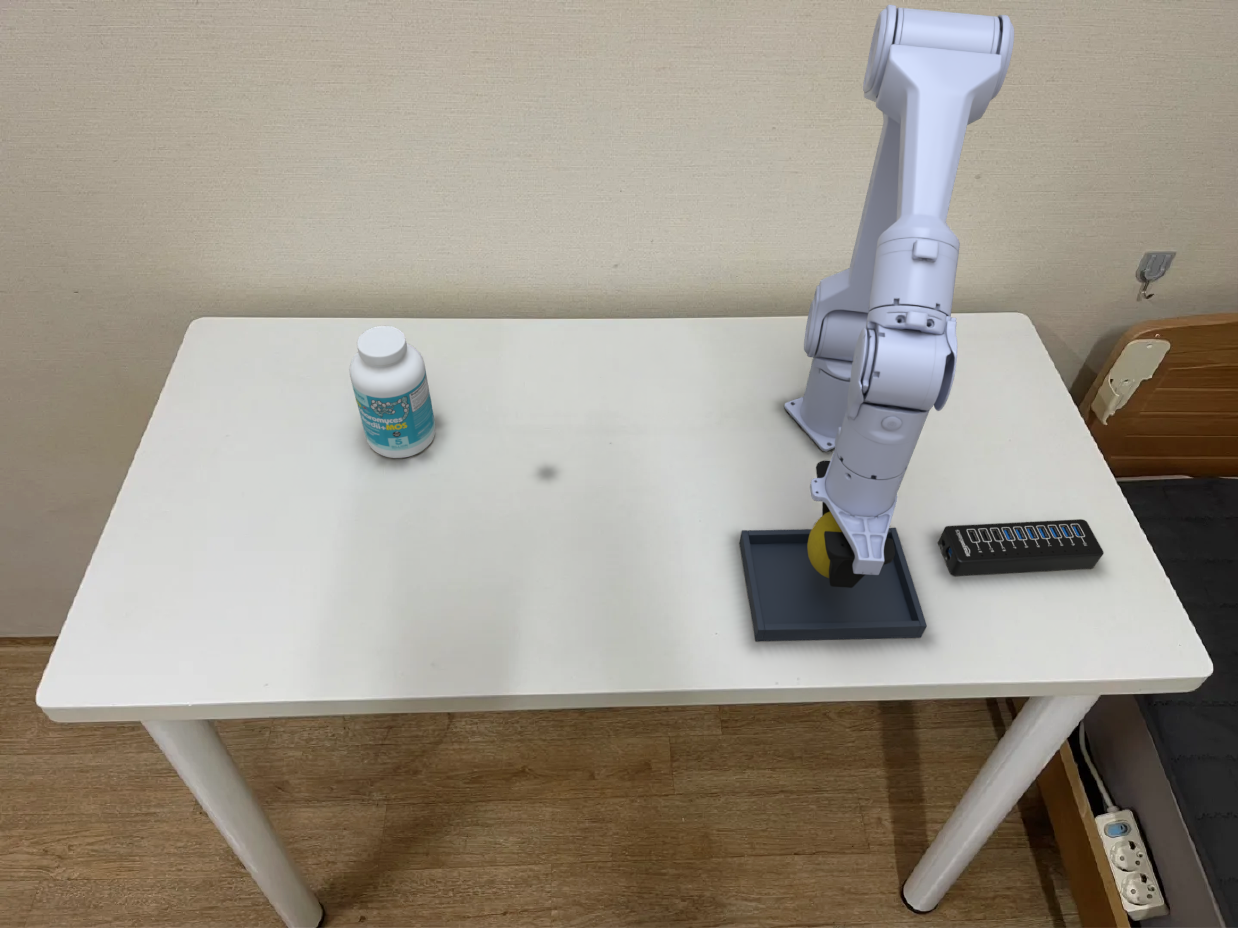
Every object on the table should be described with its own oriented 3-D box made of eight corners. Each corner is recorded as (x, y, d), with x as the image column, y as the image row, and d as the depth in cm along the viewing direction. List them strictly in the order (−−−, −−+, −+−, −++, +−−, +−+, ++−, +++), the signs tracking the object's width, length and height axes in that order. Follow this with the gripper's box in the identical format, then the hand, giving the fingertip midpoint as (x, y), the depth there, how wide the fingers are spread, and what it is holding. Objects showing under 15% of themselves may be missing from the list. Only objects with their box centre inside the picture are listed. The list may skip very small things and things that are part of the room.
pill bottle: (353, 449, 95) (325, 352, 85) (390, 405, 100) (368, 308, 90) (414, 470, 93) (393, 373, 83) (449, 423, 98) (433, 327, 88)
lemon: (867, 559, 83) (888, 505, 77) (852, 605, 80) (872, 551, 74) (810, 539, 84) (826, 484, 79) (793, 583, 81) (808, 528, 75)
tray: (890, 539, 88) (896, 527, 87) (921, 638, 81) (927, 626, 79) (739, 542, 88) (741, 530, 86) (755, 641, 80) (758, 630, 79)
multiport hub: (1095, 568, 86) (1105, 554, 85) (951, 576, 85) (958, 562, 84) (1076, 532, 89) (1085, 518, 88) (936, 540, 88) (943, 525, 87)
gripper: (813, 388, 75) (787, 492, 85) (831, 521, 65) (799, 621, 75) (897, 392, 75) (861, 496, 85) (927, 527, 65) (882, 626, 75)
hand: (837, 555), depth 80 cm, fingers closed on lemon, 5 cm apart
